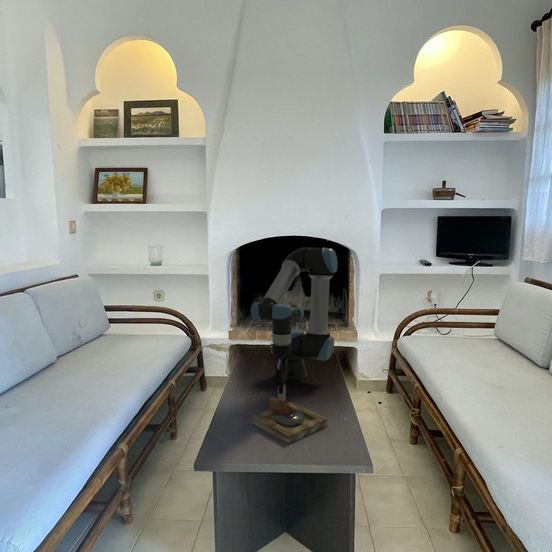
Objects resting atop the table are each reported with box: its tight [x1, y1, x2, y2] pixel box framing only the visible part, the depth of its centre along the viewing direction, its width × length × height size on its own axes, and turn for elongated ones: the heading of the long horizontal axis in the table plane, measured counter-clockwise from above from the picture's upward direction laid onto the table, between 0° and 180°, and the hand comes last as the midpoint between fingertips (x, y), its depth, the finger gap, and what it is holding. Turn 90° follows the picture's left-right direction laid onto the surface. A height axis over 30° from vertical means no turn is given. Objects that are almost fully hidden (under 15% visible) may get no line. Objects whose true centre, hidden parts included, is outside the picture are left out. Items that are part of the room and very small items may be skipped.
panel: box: [252, 401, 329, 444], centre depth 157 cm, size 20×20×3 cm
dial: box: [268, 396, 305, 427], centre depth 159 cm, size 16×11×5 cm, turn 41°
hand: (281, 400), depth 168 cm, fingers closed
